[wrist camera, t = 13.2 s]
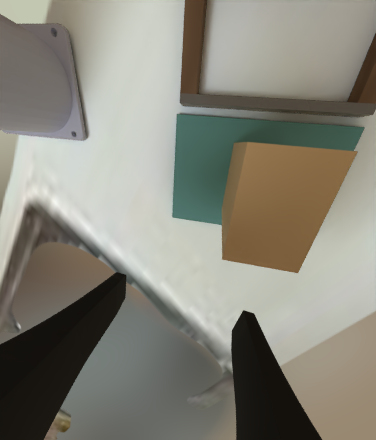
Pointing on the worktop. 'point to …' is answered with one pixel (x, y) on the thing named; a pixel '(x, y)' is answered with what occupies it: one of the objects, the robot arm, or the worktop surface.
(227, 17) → the worktop surface
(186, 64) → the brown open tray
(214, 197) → the mat
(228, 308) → the worktop surface
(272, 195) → the block
